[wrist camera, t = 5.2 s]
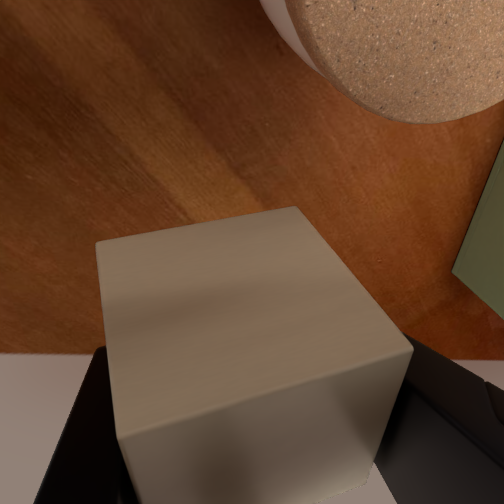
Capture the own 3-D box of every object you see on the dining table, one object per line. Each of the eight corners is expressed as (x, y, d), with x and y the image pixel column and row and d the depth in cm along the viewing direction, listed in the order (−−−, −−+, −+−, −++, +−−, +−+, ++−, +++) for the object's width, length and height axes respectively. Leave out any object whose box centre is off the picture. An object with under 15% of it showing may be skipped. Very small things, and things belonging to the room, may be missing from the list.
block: (285, 336, 11) (367, 484, 8) (129, 377, 10) (158, 566, 7) (296, 204, 9) (416, 347, 6) (93, 240, 8) (116, 439, 5)
